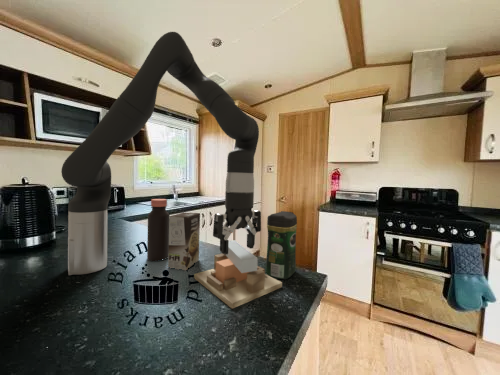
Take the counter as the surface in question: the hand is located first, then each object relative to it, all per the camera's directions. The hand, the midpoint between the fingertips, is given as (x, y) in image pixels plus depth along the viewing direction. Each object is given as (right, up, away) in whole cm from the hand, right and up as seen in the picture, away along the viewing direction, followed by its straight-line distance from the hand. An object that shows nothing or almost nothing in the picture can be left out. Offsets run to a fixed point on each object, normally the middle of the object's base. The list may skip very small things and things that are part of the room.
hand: (237, 250), depth 59 cm
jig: (0, -9, 0) cm, 9 cm away
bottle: (-28, -7, +16) cm, 33 cm away
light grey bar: (0, -3, 0) cm, 3 cm away
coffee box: (-18, -8, +12) cm, 23 cm away
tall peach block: (0, -8, 0) cm, 8 cm away
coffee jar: (+12, -9, +7) cm, 17 cm away
